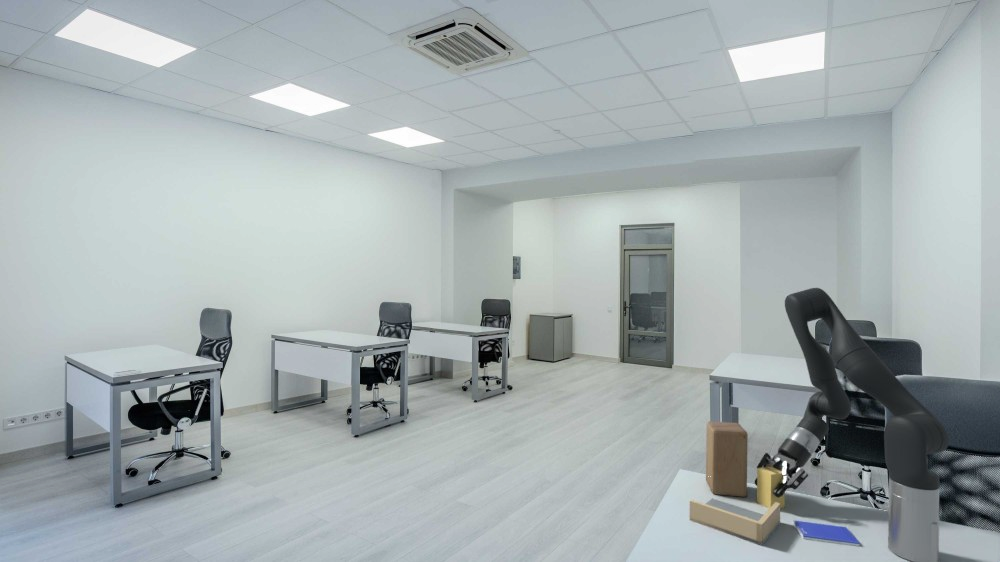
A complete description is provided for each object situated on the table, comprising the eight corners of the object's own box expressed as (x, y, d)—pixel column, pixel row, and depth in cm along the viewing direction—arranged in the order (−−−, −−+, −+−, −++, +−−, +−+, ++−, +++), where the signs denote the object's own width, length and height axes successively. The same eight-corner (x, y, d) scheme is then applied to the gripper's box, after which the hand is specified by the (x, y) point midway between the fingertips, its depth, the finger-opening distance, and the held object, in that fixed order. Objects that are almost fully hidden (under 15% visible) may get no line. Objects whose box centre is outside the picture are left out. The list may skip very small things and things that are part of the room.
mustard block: (784, 507, 141) (785, 472, 141) (770, 509, 140) (771, 473, 140) (770, 499, 146) (771, 465, 146) (756, 501, 144) (757, 467, 144)
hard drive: (803, 534, 124) (859, 542, 121) (792, 519, 132) (845, 526, 129) (803, 541, 124) (859, 548, 121) (792, 525, 132) (845, 531, 129)
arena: (780, 522, 132) (780, 503, 132) (761, 545, 121) (761, 524, 121) (712, 501, 145) (712, 483, 145) (689, 519, 133) (689, 500, 133)
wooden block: (747, 498, 147) (748, 431, 146) (712, 495, 149) (713, 429, 148) (738, 484, 156) (739, 422, 156) (705, 481, 158) (706, 420, 158)
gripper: (772, 430, 152) (740, 472, 148) (813, 446, 138) (779, 493, 135) (785, 446, 153) (754, 488, 150) (828, 463, 139) (794, 509, 136)
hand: (766, 490), depth 142 cm, fingers open, 6 cm apart
